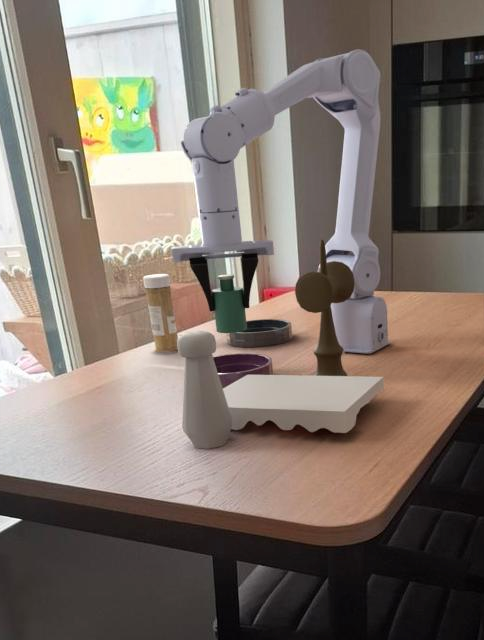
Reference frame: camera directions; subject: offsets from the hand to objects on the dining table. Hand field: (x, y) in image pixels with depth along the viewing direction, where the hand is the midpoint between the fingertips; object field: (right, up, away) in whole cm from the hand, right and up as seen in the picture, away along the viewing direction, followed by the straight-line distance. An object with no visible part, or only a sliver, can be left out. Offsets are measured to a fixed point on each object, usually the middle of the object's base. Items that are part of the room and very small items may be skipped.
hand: (229, 308), depth 105 cm
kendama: (+15, -11, -1) cm, 19 cm away
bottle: (0, -3, +1) cm, 3 cm away
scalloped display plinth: (+10, -18, -14) cm, 25 cm away
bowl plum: (+1, -11, +1) cm, 11 cm away
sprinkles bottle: (-15, -2, +23) cm, 28 cm away
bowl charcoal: (+2, 0, +26) cm, 26 cm away
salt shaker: (+1, -22, -22) cm, 31 cm away
